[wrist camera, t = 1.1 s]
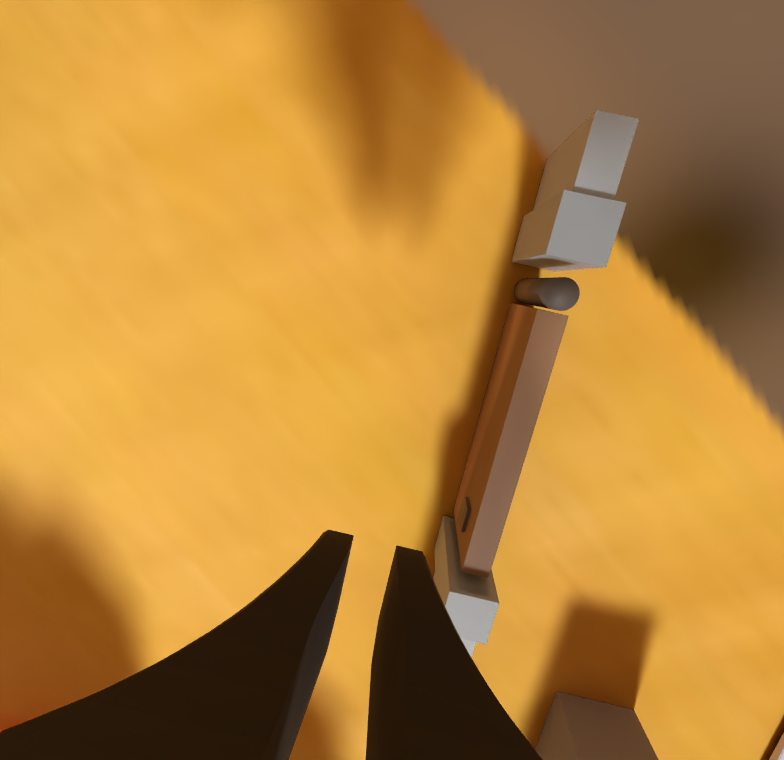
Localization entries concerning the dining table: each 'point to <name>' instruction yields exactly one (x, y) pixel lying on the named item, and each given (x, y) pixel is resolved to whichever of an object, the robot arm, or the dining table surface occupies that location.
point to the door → (509, 416)
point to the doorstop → (592, 732)
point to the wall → (556, 253)
